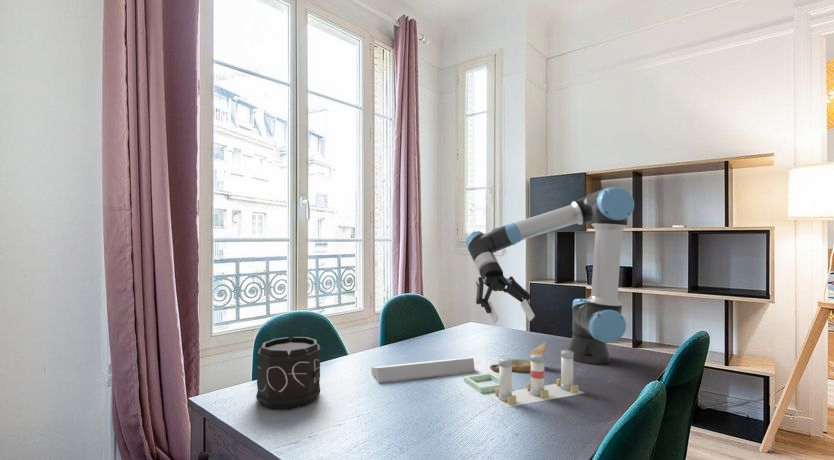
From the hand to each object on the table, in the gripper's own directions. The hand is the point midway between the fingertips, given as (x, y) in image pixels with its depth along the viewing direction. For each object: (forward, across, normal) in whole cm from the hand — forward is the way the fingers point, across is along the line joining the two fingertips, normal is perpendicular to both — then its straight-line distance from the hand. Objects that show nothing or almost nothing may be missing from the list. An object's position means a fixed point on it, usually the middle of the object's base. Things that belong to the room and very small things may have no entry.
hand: (514, 319), depth 127 cm
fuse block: (+22, 0, -7) cm, 23 cm away
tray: (+14, +10, -15) cm, 23 cm away
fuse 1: (+21, +11, -6) cm, 25 cm away
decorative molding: (0, +21, -31) cm, 38 cm away
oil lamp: (+8, -9, -22) cm, 25 cm away
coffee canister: (+4, +66, -26) cm, 71 cm away
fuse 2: (+21, -11, -6) cm, 25 cm away
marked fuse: (+21, 0, -6) cm, 22 cm away
